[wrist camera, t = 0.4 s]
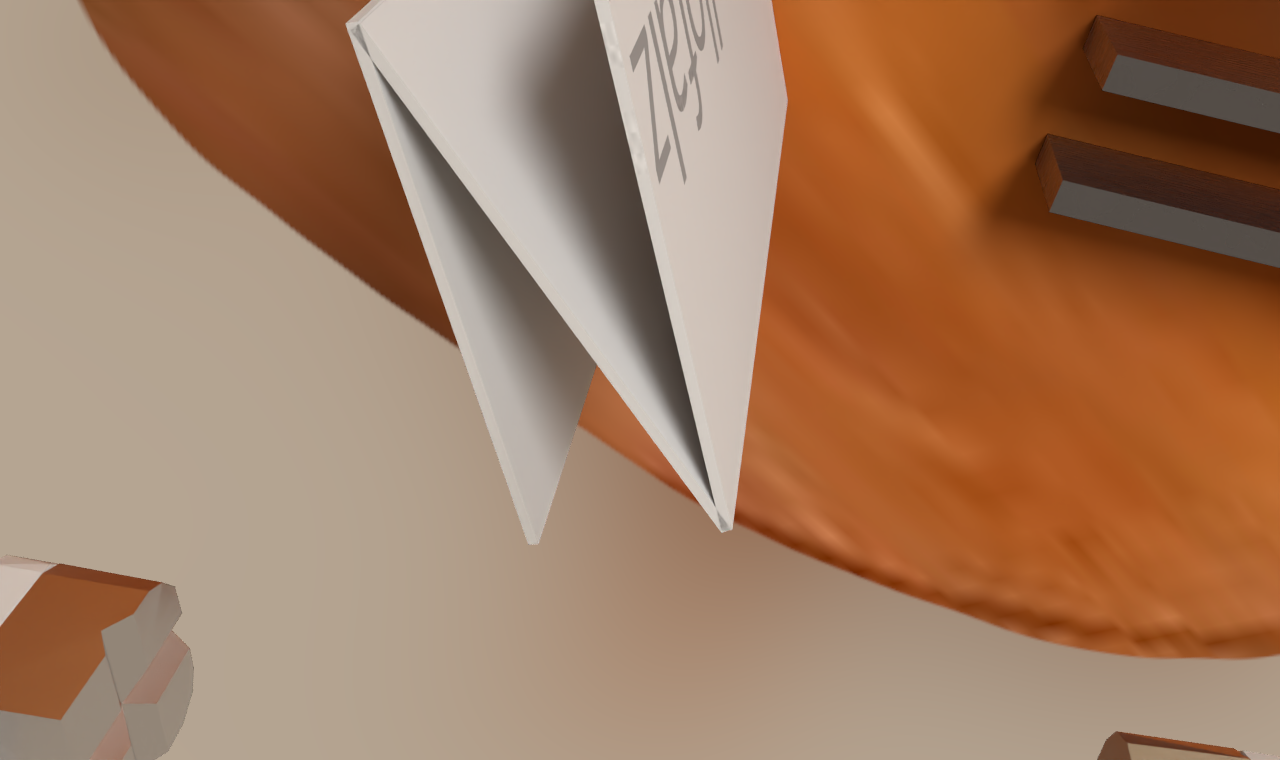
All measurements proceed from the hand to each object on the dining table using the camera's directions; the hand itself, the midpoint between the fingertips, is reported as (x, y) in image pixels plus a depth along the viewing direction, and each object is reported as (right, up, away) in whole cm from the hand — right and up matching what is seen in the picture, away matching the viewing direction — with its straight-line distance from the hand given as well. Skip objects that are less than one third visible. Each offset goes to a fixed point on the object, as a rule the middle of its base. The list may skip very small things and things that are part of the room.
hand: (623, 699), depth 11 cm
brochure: (+3, +21, +42) cm, 47 cm away
